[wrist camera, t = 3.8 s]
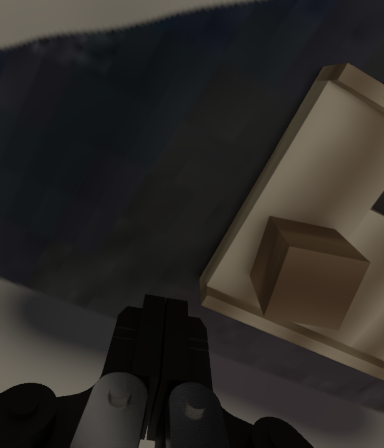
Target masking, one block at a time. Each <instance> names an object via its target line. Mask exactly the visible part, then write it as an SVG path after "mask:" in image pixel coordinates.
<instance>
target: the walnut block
mask: <svg viewBox="0 0 384 448" xmlns="http://www.w3.org/2000/svg"><path fill="white" fill-rule="evenodd" d="M370 263H371V262H370V261H369V260H367V259H366V258H365V257H364V256H363V255H362V254H361V253H360V252H359V251H358V250H357V249H356V248H355V247H354V246H353V245H352V244H351V243H349V242H348V241H347V240H346V239H345V238H344V237H343V236H342V235H341V234H340V233H339V232H338V231H337V230H336V229H331V228H327V227H322V226H317V225H312V224H307V223H303V222H298V221H293V220H288V219H283V218H278V217H274V216H269V219H268V222H267V225H266V228H265V231H264V234H263V237H262V240H261V243H260V246H259V249H258V252H257V255H256V258H255V261H254V264H253V267H252V270H251V273H250V278H251V281H252V284H253V287H254V290H255V293H256V296H257V299H258V302H259V304H260V307H261V310H262V313H263V316H264V317H266V318H272V319H277V320H283V321H289V322H294V323H300V324H305V325H311V326H317V327H322V328H328V329H334V330H339V329H340V326H341V324H342V322H343V320H344V318H345V316H346V314H347V312H348V310H349V307H350V305H351V303H352V301H353V299H354V297H355V295H356V293H357V290H358V288H359V286H360V284H361V282H362V280H363V278H364V276H365V274H366V271H367V269H368V267H369V265H370Z"/></svg>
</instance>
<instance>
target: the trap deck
mask: <svg viewBox="0 0 384 448" xmlns="http://www.w3.org/2000/svg"><path fill="white" fill-rule="evenodd" d="M269 216H274V217H278V218H283V219H288V220H293V221H298V222H303V223H307V224H312V225H317V226H322V227H327V228H331V229H336V230H337V231H338V232H339V233H340V234H341V235H342V236H343V237H344V238H345V239H346V240H347V241H348V242H349V243H351V244H352V245H353V246H354V247H355V248H356V249H357V250H358V251H359V252H360V253H361V254H362V255H363V256H364V257H365V258H366V259H367V260H369V261H370V262H371V263H370V265H369V267H368V269H367V271H366V274H365V276H364V278H363V280H362V282H361V284H360V286H359V288H358V290H357V293H356V295H355V297H354V299H353V301H352V303H351V305H350V307H349V310H348V312H347V314H346V316H345V318H344V320H343V322H342V324H341V326H340V329H339V330H334V329H328V328H322V327H317V326H311V325H305V324H300V323H294V322H289V321H283V320H277V319H272V318H266V317H264V316H263V313H262V310H261V307H260V304H259V302H258V299H257V296H256V293H255V290H254V287H253V284H252V281H251V278H250V273H251V270H252V267H253V264H254V261H255V258H256V255H257V252H258V249H259V246H260V243H261V240H262V237H263V234H264V231H265V228H266V225H267V222H268V219H269ZM199 281H200V295H201V305H202V306H204V307H207V308H209V309H212V310H214V311H216V312H219V313H221V314H224V315H226V316H229V317H231V318H233V319H236V320H238V321H241V322H243V323H246V324H248V325H250V326H253V327H255V328H258V329H260V330H263V331H265V332H267V333H270V334H272V335H275V336H277V337H280V338H282V339H285V340H287V341H289V342H292V343H294V344H297V345H299V346H302V347H304V348H306V349H309V350H311V351H314V352H316V353H319V354H321V355H323V356H326V357H328V358H331V359H333V360H336V361H338V362H340V363H343V364H345V365H348V366H350V367H353V368H355V369H357V370H360V371H362V372H365V373H367V374H370V375H372V376H374V377H377V378H379V379H382V380H384V85H383V84H382V83H380V82H379V81H377V80H375V79H374V78H372V77H370V76H369V75H367V74H365V73H364V72H362V71H361V70H359V69H357V68H356V67H354V66H352V65H351V64H349V63H344V64H337V65H331V66H324V67H323V68H322V69H321V71H320V73H319V75H318V76H317V78H316V80H315V81H314V83H313V85H312V87H311V88H310V90H309V92H308V93H307V95H306V97H305V99H304V100H303V102H302V104H301V105H300V107H299V109H298V111H297V112H296V114H295V116H294V117H293V119H292V121H291V123H290V124H289V126H288V128H287V129H286V131H285V133H284V135H283V136H282V138H281V140H280V141H279V143H278V145H277V147H276V148H275V150H274V152H273V153H272V155H271V157H270V159H269V160H268V162H267V164H266V165H265V167H264V169H263V171H262V172H261V174H260V176H259V177H258V179H257V181H256V183H255V184H254V186H253V188H252V189H251V191H250V193H249V195H248V196H247V198H246V200H245V201H244V203H243V205H242V207H241V208H240V210H239V212H238V213H237V215H236V217H235V219H234V220H233V222H232V224H231V225H230V227H229V229H228V231H227V232H226V234H225V236H224V237H223V239H222V241H221V243H220V244H219V246H218V248H217V249H216V251H215V253H214V255H213V256H212V258H211V260H210V261H209V263H208V265H207V267H206V268H205V270H204V272H203V273H202V275H201V277H200V279H199Z"/></svg>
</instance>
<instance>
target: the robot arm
mask: <svg viewBox="0 0 384 448" xmlns="http://www.w3.org/2000/svg"><path fill="white" fill-rule="evenodd" d="M165 299H166V298H165V297H159V296H153V295H147V294H145V298H144V303H143V308H136V307H130V306H127V307H126V308H125V309H124V310H123V311H122V312H121V313H120V314H119V315H118V319H117V322H116V326H115V330H114V333H113V337H112V340H111V344H110V347H109V351H108V354H107V358H106V361H105V365H104V368H103V372H102V375H101V377H100V379H99V380H98V381H97V383H96V384H95V385H93V386H92V387H91V388H89V389H88V390H86V391H84V392H81V393H79V394H74V395H69V396H62V397H56V396H55V394H54V392H53V391H52V390H51V389H50V388H49V387H47V386H45V385H42V384H38V383H24V384H19V385H16V386H13V387H11V388H9V389H7V390H6V391H4V392H2V393H0V448H138V447H139V443H140V439H143V440H144V438H145V434H146V430H147V426H148V431H147V440H152V441H155V448H314V447H313V446H312V445H311V444H310V443H309V442H308V441H307V440H306V439H305V438H303V436H302V435H301V434H300V433H298V432H297V430H296V429H294V428H293V427H292V426H291V425H289V424H288V423H287V422H285V421H283V420H281V419H279V418H275V417H263V418H260V419H259V420H257V421H256V422H255V424H254V425H252V424H250V423H248V422H246V421H243V420H241V419H239V418H237V417H234V416H233V415H231V414H230V413H228V412H227V411H226V410H225V409H223V408H222V407H221V404H220V401H219V399H218V397H217V396H216V394H215V393H214V392H213V388H212V379H211V368H210V358H209V352H208V350H209V349H208V343H207V341H208V339H207V329H206V327H205V326H204V324H203V323H202V321H201V319H200V318H196V317H190V316H188V303H187V301H183V300H177V299H171V298H167V299H166V303H165Z"/></svg>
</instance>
